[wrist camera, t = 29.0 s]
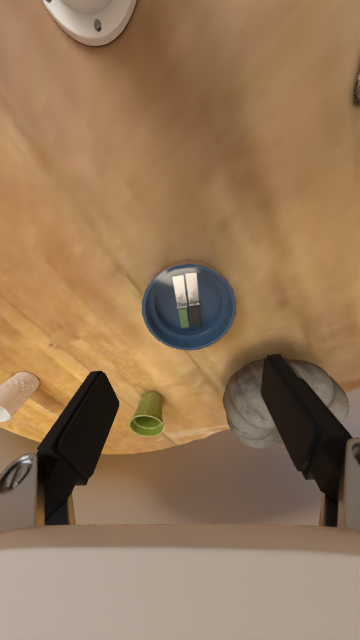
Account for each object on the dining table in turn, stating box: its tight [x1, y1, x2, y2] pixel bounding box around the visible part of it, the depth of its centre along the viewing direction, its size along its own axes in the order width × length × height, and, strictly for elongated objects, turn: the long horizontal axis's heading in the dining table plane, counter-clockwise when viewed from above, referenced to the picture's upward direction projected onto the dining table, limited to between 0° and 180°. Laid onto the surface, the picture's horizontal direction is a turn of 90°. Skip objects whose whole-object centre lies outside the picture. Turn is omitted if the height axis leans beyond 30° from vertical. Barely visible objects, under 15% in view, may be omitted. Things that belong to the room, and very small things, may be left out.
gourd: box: [223, 358, 349, 449], centre depth 38 cm, size 25×25×17 cm
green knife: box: [172, 275, 189, 328], centre depth 34 cm, size 11×2×2 cm, turn 9°
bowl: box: [142, 260, 236, 350], centre depth 33 cm, size 17×17×6 cm
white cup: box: [0, 372, 40, 422], centre depth 44 cm, size 8×8×10 cm
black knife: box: [185, 273, 201, 326], centre depth 34 cm, size 11×2×2 cm, turn 8°
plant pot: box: [129, 392, 164, 437], centre depth 46 cm, size 9×9×9 cm
